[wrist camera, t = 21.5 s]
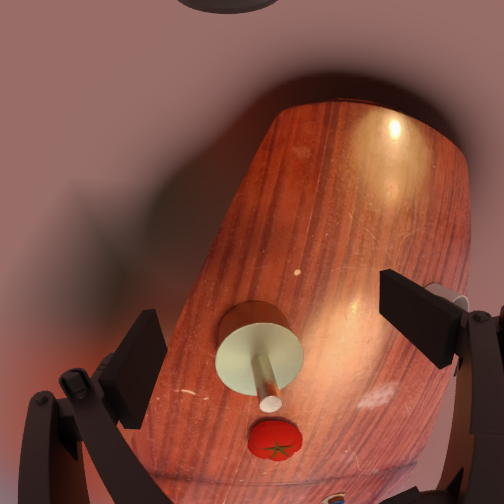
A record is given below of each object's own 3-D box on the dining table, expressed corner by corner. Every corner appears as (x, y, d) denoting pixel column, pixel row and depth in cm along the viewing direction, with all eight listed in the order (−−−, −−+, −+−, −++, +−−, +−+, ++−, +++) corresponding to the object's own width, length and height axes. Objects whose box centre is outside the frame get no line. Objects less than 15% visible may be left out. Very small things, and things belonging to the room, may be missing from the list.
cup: (443, 302, 49) (470, 316, 40) (411, 330, 49) (436, 349, 40) (437, 275, 47) (466, 287, 39) (402, 303, 47) (430, 321, 39)
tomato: (281, 448, 52) (287, 468, 45) (238, 437, 50) (241, 459, 43) (306, 421, 50) (314, 442, 44) (262, 409, 48) (267, 432, 42)
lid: (239, 305, 36) (246, 343, 26) (317, 337, 38) (344, 377, 28) (201, 375, 37) (198, 423, 27) (275, 399, 39) (288, 445, 29)
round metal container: (237, 289, 43) (241, 310, 35) (299, 316, 45) (315, 340, 37) (207, 347, 45) (205, 376, 36) (267, 369, 47) (275, 399, 38)
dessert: (350, 493, 60) (347, 508, 55) (338, 493, 64) (334, 507, 60) (333, 492, 59) (329, 508, 55) (320, 492, 63) (316, 506, 59)
